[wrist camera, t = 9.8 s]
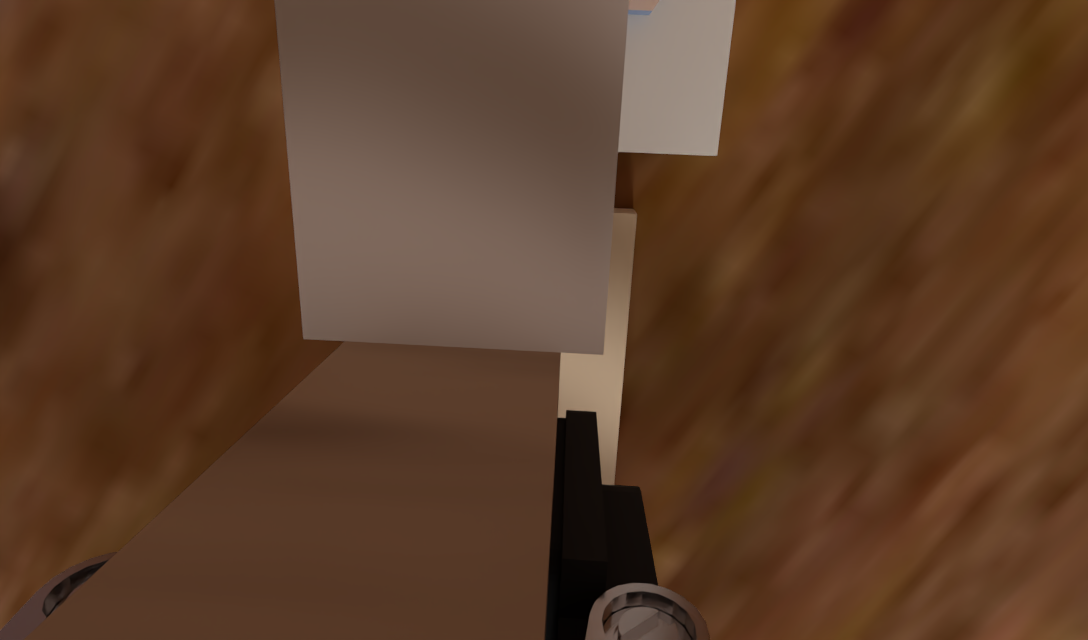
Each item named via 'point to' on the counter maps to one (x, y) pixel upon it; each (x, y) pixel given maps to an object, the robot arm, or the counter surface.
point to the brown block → (405, 337)
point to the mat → (676, 77)
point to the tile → (641, 7)
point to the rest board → (605, 352)
